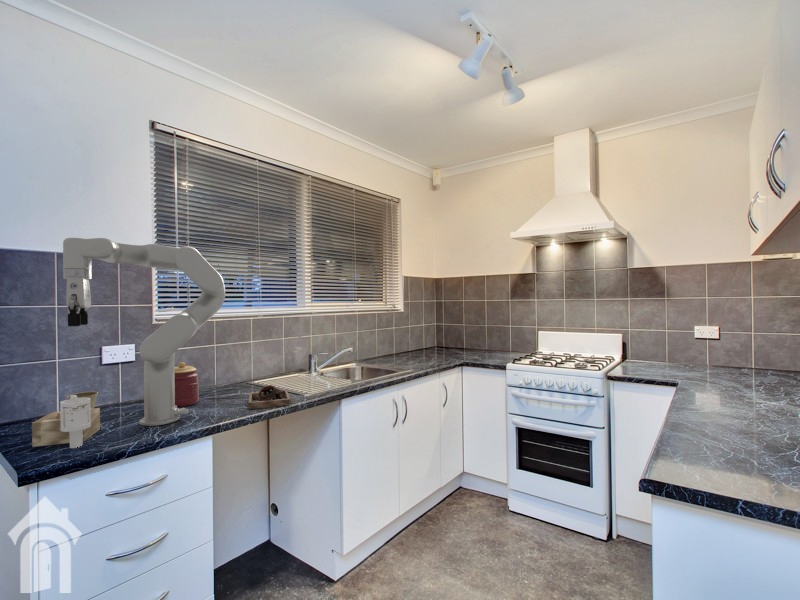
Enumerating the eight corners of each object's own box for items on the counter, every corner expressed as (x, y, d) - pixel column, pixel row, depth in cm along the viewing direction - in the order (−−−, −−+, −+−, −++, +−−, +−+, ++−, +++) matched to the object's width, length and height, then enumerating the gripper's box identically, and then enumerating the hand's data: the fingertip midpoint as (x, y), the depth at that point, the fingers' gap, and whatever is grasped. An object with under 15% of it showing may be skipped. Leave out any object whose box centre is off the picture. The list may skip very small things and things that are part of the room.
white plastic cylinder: (87, 440, 125) (86, 392, 125) (93, 445, 121) (93, 395, 121) (58, 447, 120) (57, 397, 120) (64, 452, 116) (63, 400, 116)
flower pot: (69, 422, 145) (69, 398, 145) (64, 417, 151) (64, 394, 151) (101, 416, 152) (100, 394, 152) (95, 412, 158) (95, 390, 158)
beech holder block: (99, 428, 137) (99, 407, 137) (84, 441, 125) (84, 418, 125) (53, 433, 133) (53, 411, 133) (32, 446, 121) (32, 422, 121)
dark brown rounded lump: (287, 403, 171) (281, 388, 167) (267, 416, 166) (260, 401, 162) (275, 391, 180) (269, 377, 176) (256, 403, 175) (249, 389, 171)
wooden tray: (287, 395, 182) (287, 390, 182) (290, 405, 165) (290, 399, 165) (249, 398, 177) (249, 393, 177) (248, 409, 160) (248, 402, 160)
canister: (176, 408, 162) (175, 365, 162) (158, 405, 168) (157, 363, 168) (205, 401, 173) (205, 360, 173) (187, 398, 180) (187, 359, 180)
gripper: (85, 273, 130) (85, 326, 130) (97, 276, 145) (97, 323, 145) (55, 272, 126) (56, 327, 126) (71, 276, 142) (71, 324, 142)
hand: (78, 325), depth 136 cm, fingers open, 9 cm apart
